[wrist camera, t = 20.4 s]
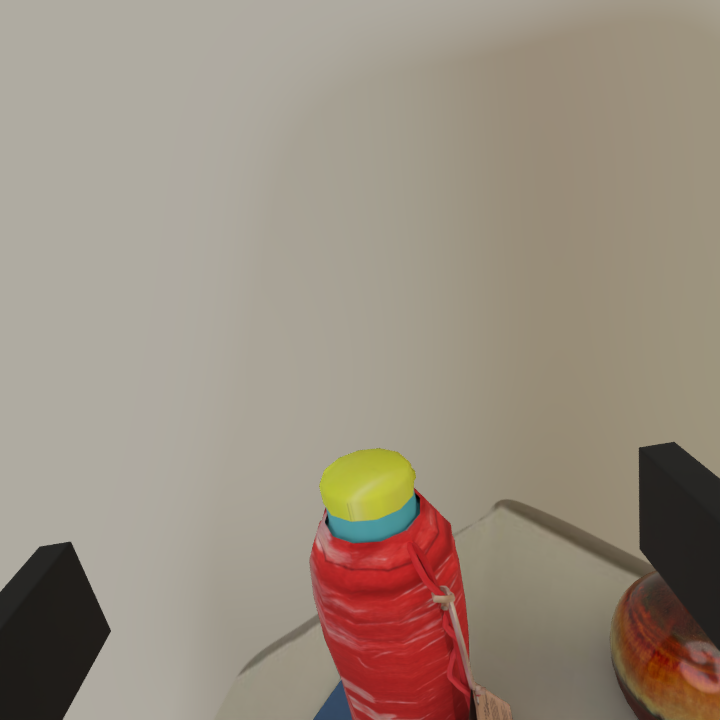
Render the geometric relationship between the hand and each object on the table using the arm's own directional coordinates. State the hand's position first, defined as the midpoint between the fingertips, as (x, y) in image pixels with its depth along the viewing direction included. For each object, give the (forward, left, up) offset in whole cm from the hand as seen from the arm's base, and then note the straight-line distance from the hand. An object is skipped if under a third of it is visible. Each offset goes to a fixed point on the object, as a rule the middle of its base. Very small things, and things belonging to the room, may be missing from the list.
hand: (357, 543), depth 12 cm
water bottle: (-5, +8, -30) cm, 31 cm away
